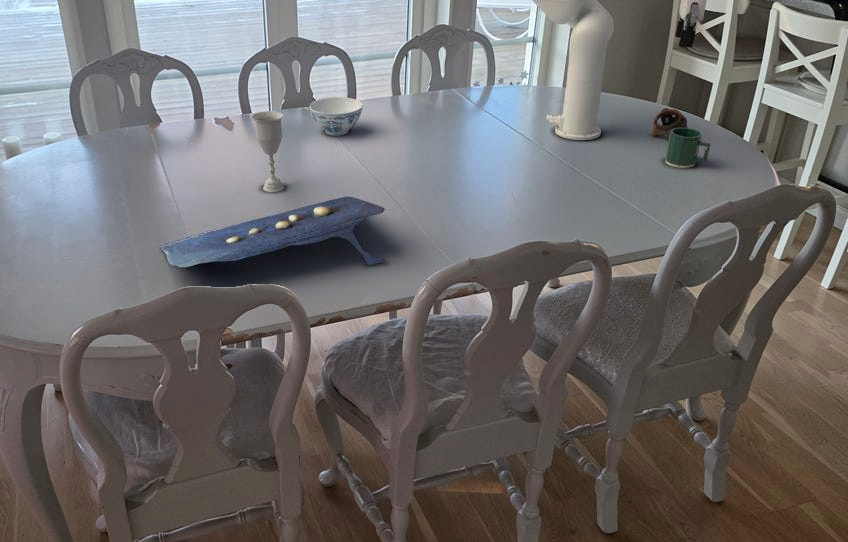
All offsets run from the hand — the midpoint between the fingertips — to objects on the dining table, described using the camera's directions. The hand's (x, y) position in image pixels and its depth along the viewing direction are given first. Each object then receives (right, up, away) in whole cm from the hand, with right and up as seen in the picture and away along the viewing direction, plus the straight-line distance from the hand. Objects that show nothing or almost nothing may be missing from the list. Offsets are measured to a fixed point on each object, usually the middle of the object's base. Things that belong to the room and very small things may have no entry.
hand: (683, 41), depth 199 cm
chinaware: (-89, -17, +26) cm, 94 cm away
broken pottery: (+4, -19, +20) cm, 28 cm away
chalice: (-103, -38, -7) cm, 111 cm away
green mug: (+1, -31, +2) cm, 31 cm away
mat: (-100, -56, -35) cm, 120 cm away
